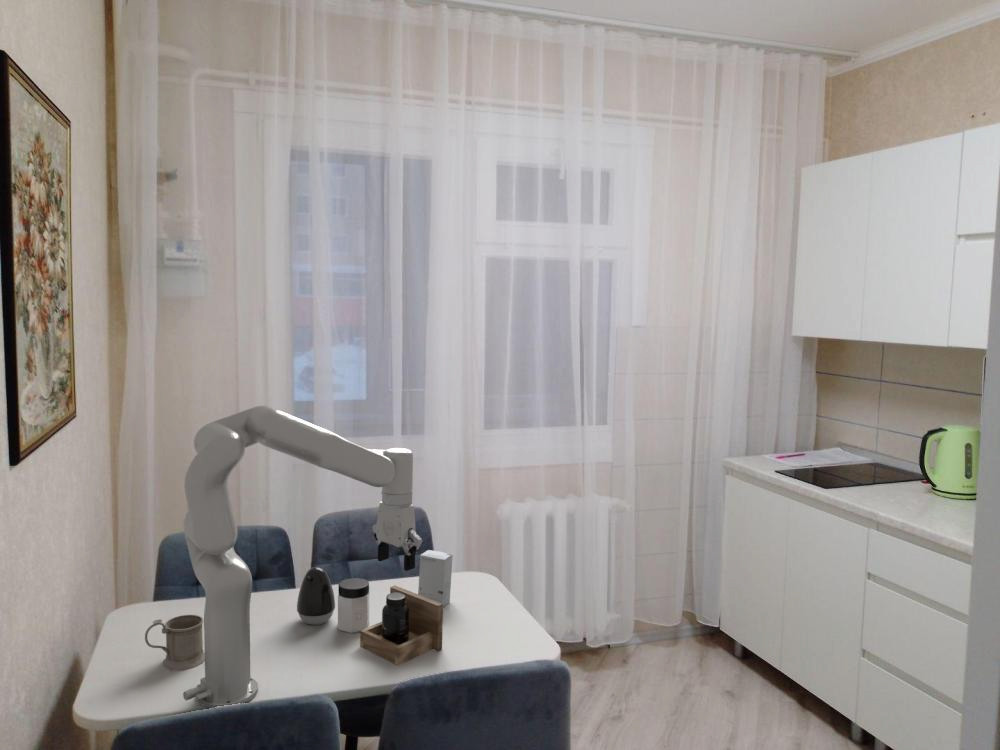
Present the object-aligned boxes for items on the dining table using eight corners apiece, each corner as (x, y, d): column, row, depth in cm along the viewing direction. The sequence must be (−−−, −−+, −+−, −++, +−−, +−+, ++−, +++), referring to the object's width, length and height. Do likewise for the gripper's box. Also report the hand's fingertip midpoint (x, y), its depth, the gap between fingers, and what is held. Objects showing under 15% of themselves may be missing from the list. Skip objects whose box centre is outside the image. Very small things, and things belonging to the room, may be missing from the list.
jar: (343, 635, 196) (343, 591, 195) (332, 624, 203) (332, 581, 202) (375, 628, 201) (375, 585, 200) (363, 617, 208) (363, 575, 207)
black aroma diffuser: (289, 626, 201) (289, 572, 199) (308, 611, 211) (308, 559, 210) (324, 631, 199) (324, 576, 197) (341, 615, 209) (341, 563, 207)
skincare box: (417, 604, 218) (418, 555, 216) (426, 596, 223) (427, 548, 222) (443, 609, 215) (444, 559, 213) (452, 601, 220) (452, 552, 219)
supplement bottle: (376, 643, 188) (376, 597, 187) (392, 632, 194) (392, 588, 193) (398, 649, 185) (398, 603, 184) (414, 638, 191) (414, 593, 190)
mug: (193, 646, 188) (192, 601, 187) (214, 659, 182) (213, 612, 181) (136, 667, 177) (134, 619, 176) (155, 681, 171) (154, 631, 170)
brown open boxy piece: (403, 668, 180) (403, 620, 179) (355, 644, 191) (355, 599, 190) (442, 649, 190) (442, 604, 189) (394, 628, 202) (394, 585, 200)
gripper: (362, 494, 189) (362, 560, 190) (409, 507, 178) (408, 577, 179) (385, 489, 194) (384, 552, 196) (432, 502, 183) (431, 569, 185)
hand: (396, 564), depth 188 cm, fingers open, 9 cm apart
